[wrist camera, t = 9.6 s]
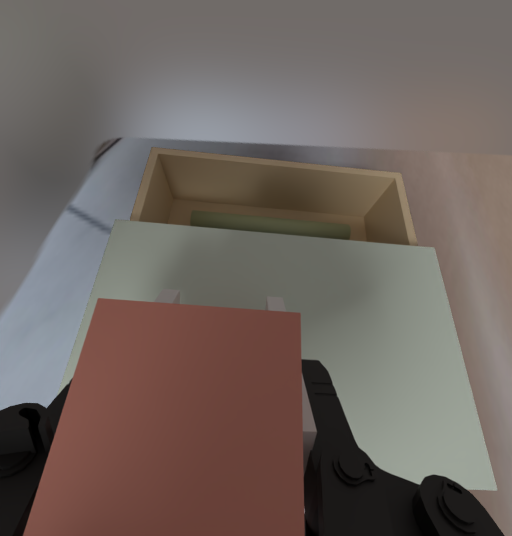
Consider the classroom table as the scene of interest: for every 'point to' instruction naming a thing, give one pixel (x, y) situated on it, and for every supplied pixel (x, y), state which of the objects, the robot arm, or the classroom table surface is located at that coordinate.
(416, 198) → the classroom table surface
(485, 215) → the classroom table surface
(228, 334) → the lid
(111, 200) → the classroom table surface
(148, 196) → the carton
